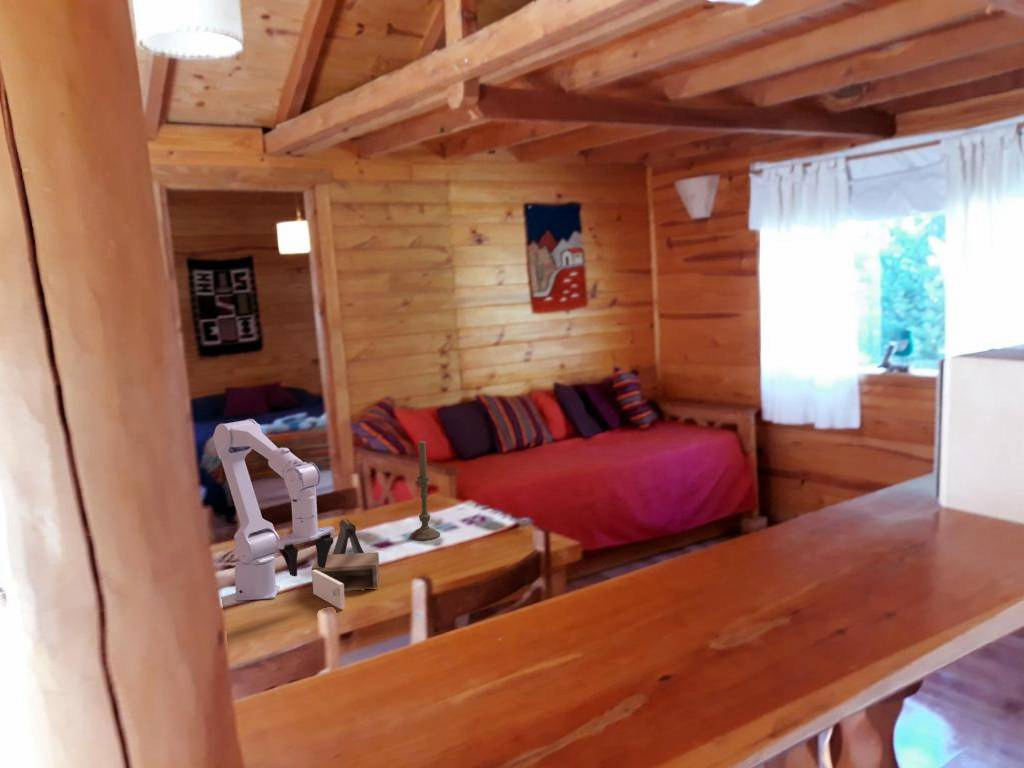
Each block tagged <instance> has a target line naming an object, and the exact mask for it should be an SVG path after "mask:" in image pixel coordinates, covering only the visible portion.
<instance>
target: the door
mask: <svg viewBox="0 0 1024 768" xmlns="http://www.w3.org/2000/svg"><path fill="white" fill-rule="evenodd" d="M312 579H313V583H312V594H313V595H315V596H317V597H318V598H321V600H324V601H325V602H328V603H330V604H331V605H333V606H335V607H336V608H337V609H340V610H343V609H346V600H345V591H344V584H343V583H341V582H339V581H337V580H335V579H333V578H331V577H329V576H327V575H325V574H324V573H322V572H320V571H318V570H312V569H311V580H312Z"/></svg>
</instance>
